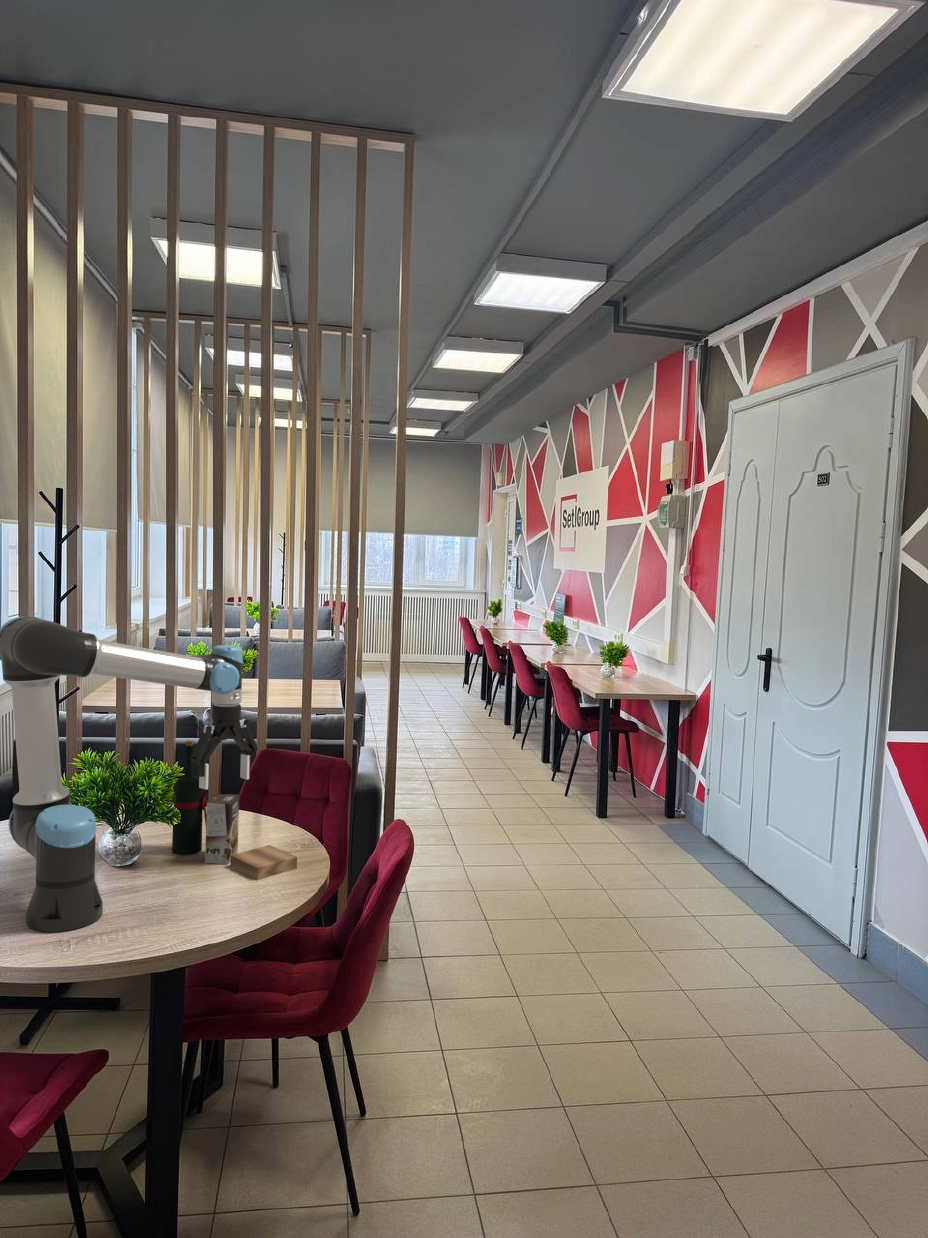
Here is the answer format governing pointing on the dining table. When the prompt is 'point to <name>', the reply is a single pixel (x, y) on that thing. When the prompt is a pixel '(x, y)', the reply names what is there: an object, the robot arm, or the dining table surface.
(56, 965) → the dining table surface
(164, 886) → the dining table surface
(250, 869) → the block
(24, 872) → the dining table surface
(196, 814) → the wine bottle
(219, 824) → the coffee box
